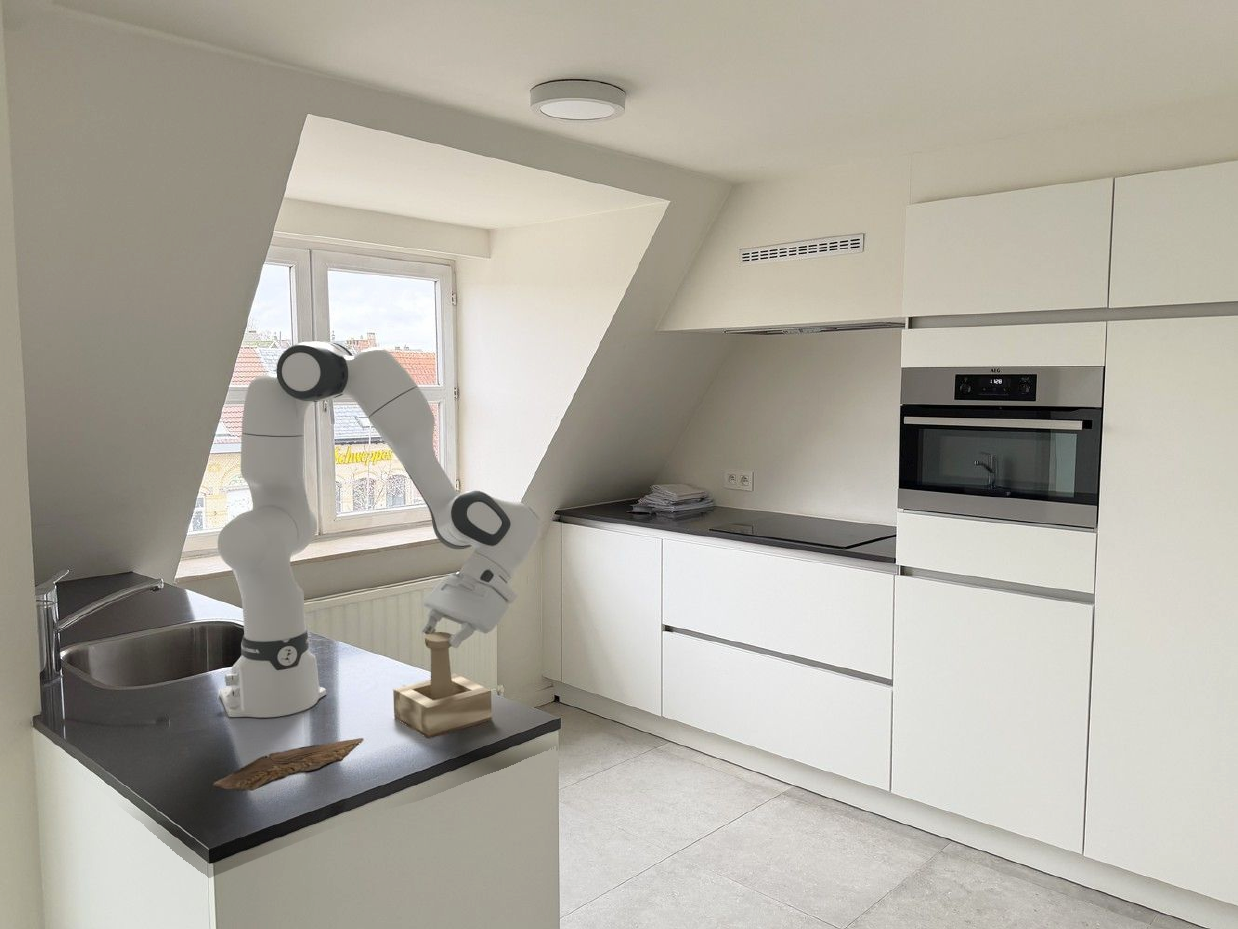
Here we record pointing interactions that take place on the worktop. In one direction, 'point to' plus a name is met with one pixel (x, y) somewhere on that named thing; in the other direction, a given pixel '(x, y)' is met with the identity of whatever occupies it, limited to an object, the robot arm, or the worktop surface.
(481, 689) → the socket block
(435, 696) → the handle
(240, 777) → the wooden fragment
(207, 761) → the worktop surface
